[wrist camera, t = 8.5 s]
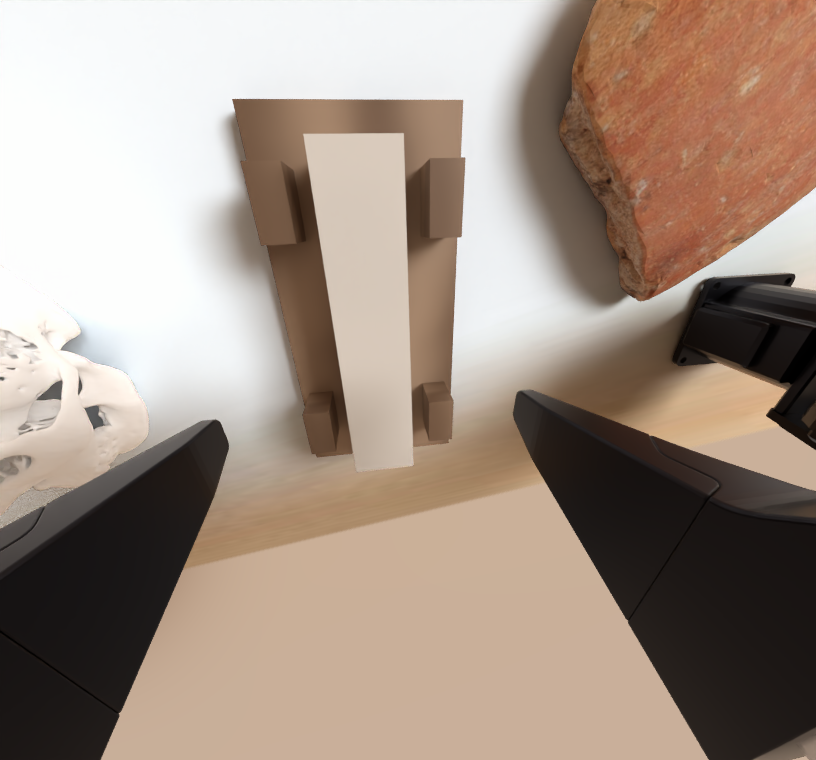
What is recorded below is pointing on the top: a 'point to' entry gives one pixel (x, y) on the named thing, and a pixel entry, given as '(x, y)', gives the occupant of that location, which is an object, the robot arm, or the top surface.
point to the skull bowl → (56, 419)
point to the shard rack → (302, 257)
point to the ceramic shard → (692, 126)
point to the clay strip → (367, 286)
